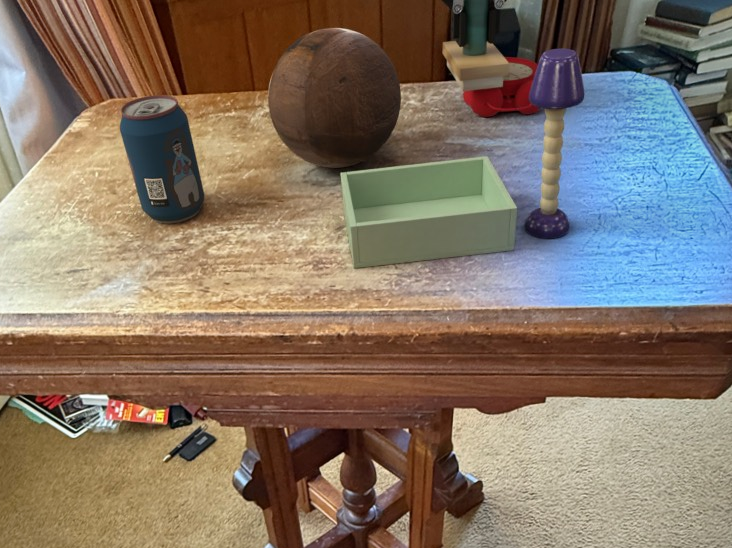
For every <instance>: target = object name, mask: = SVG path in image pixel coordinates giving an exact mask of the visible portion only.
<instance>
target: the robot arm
mask: <svg viewBox="0 0 732 548" xmlns="http://www.w3.org/2000/svg"><path fill="white" fill-rule="evenodd" d="M507 1H508V0H489V4H488V28H487V42H488V43H490V44H493V45H494V44H495V43H496V35H499V34H500V29H501V27H500V26H501V10H502V9H503V8H504V7H505V3H506V2H507ZM441 2H443V3H444V5H446V6H447V7H448V8H449V9H450V36H451V39H452V40H454V41H456V43H457V44H458V45H459V47H464V46H465V45H466V19H467V15H466V13H465V12H464V7H463V6H464V0H441Z"/></svg>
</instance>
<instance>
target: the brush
mask: <svg viewBox="0 0 732 548" xmlns="http://www.w3.org/2000/svg"><path fill="white" fill-rule="evenodd" d="M488 4H489V0H463V7H464V12H465V13H466V15H467V19H466V45H465V46H464V47H459V45H458V44H457V43H456V41H455V40H450V41H443V42H442V55H443V56H444V58H445V59H446V66H447V68H448V70H449V72H450V73H451V74H452V76H453V78H454V79H455V81H456V83H457V84H458V86H459V87H460V89H461V90H462V92H464V91H470V90H478V89H487V88H496V87H503V76H508V75H509V62H508V61H507V60H506V59H505V58H504V57H505V56H504V55H503V54H502V53H501V52H500V50H499V49H498V48H497V47H496V45H494V43H493V44H490V43H488V42H487V28H488Z"/></svg>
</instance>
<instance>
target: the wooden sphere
mask: <svg viewBox="0 0 732 548" xmlns="http://www.w3.org/2000/svg"><path fill="white" fill-rule="evenodd" d="M269 80H270V81H269V84H268V92H267V93H268V95H267V101H268V111H269V116H270V119H271V123H272V125H273V127H274V129H275V132H276V134H277V135H278V137H279V138H280V140H281V141H282V143H283V144H284V145H285V146H286V147H287V148H288V149H289V150H290V151H291V152H292V153H293V154H295V156H297V157H299V158H300V159H301V160H303V161H306V162H308V163H310V164H312V165H315V166H318V167H323V168H331V169H338V168H347V167H350V166H354V165H357V164H359V163H362V162H364V161H366V160H368V159H369V158H371V157H372V156H374V155H375V154H376V153H377V152H378V151H380V150H381V148H382V147H384V146H385V144H386V142H387V141H388V140H389V139H390V137H391V135H392V134H393V132H394V130H395V128H396V126H397V123H398V120H399V117H400V112H401V104H402V91H401V84H400V80H399V75H398V73H397V70H396V68H395V66H394V64H393V62H392V61H391V59H390V57H389V55H388V54H387V53H386V52H385V50H384V49H383V48H382V47H381V46H379V44H377V43H376V42H375V41H374V40H373V39H371V38H370V37H368V36H367V35H365V34H362V33H360V32H358V31H355V30H352V29H348V28H341V27H330V28H329V27H328V28H322V29H317V30H315V31H312V32H309V33H307V34H305V35H303V36H301V37H299V38H298V39H297V40H295V41H294V42H293V43H292V44H290V46H288V48H287V49H286V50H285V51H284V52H283V53H282V55H281V56H280V57H279V58H278V61H277V63H276V64H275V66H274V68H273V70H272V73H271V76H270V79H269Z"/></svg>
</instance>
